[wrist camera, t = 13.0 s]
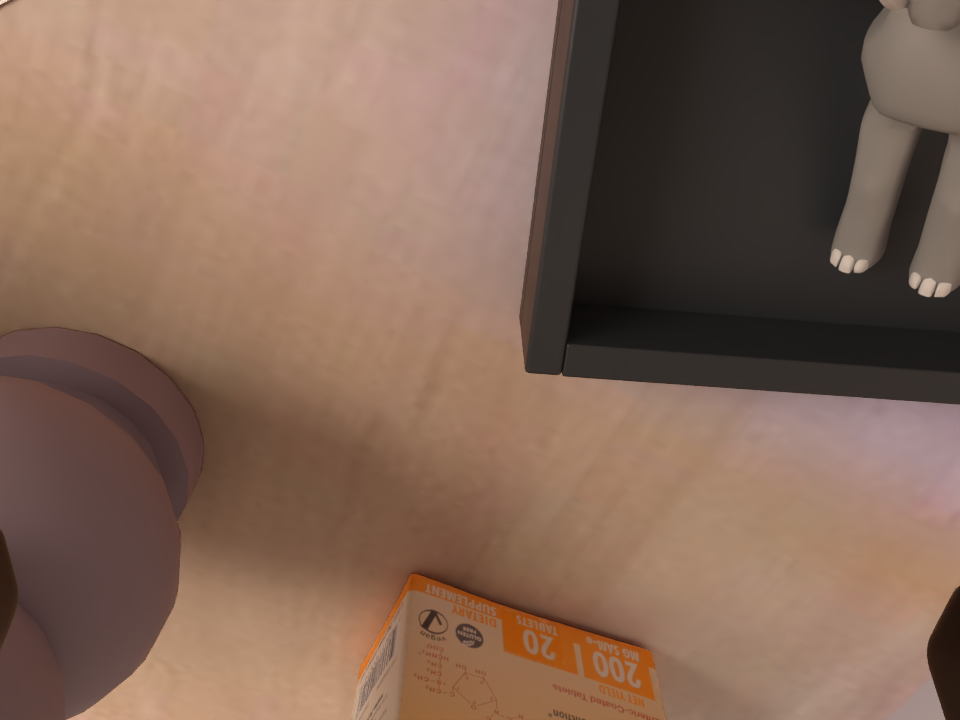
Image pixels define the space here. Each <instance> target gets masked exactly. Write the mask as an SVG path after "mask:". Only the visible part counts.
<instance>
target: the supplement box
mask: <svg viewBox="0 0 960 720" xmlns="http://www.w3.org/2000/svg"><path fill="white" fill-rule="evenodd" d="M351 720H666V716H665V711H664V706H663V702H662V697H661V692H660V687H659V682H658V678H657V673H656V669H655V664H654V660H653V655H652V653H651V652H650V651H649V650H646V649H643V648H640V647H637V646H634V645H629V644H627V643H623V642H619V641H616V640H613V639H609V638H606V637H603V636H600V635H596V634H594V633H591V632H586V631H583V630H580V629H577V628H574V627H570V626H567V625H564V624H561V623H557V622H555V621H550V620H548V619H545V618H540V617H538V616H534V615H530V614H528V613H525V612H521V611H519V610H516V609H512V608H509V607H507V606H504V605H499V604H497V603H494V602H491V601H489V600H486V599H483V598H481V597H478V596H475V595H473V594H470V593H467V592H464V591H462V590H460V589H456V588H453V587H452V586H449V585H445V584H443V583H440V582H438V581H436V580H432V579H429V578H426V577H424V576H421V575H417V574H411V575H410V577H409V579H408V581H407V583H406V585H405V587H404V589H403V591H402V593H401V594H400V596H399V598H398V600H397V602H396V604H395V606H394V608H393V609H392V611H391V614H390V615H389V617H388V619H387V620H386V623H385V624H384V627H383V628H382V629H381V632H380V634H379V635H378V637H377V639H376V640H375V643H374V645H373V646H372V648H371V649H370V652H369V653H368V655H367V657H366V658H365V660H364V662H363V663H362V665H361V669H360V672H359V677H358V682H357V687H356V693H355V699H354V704H353V710H352V716H351Z"/></svg>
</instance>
